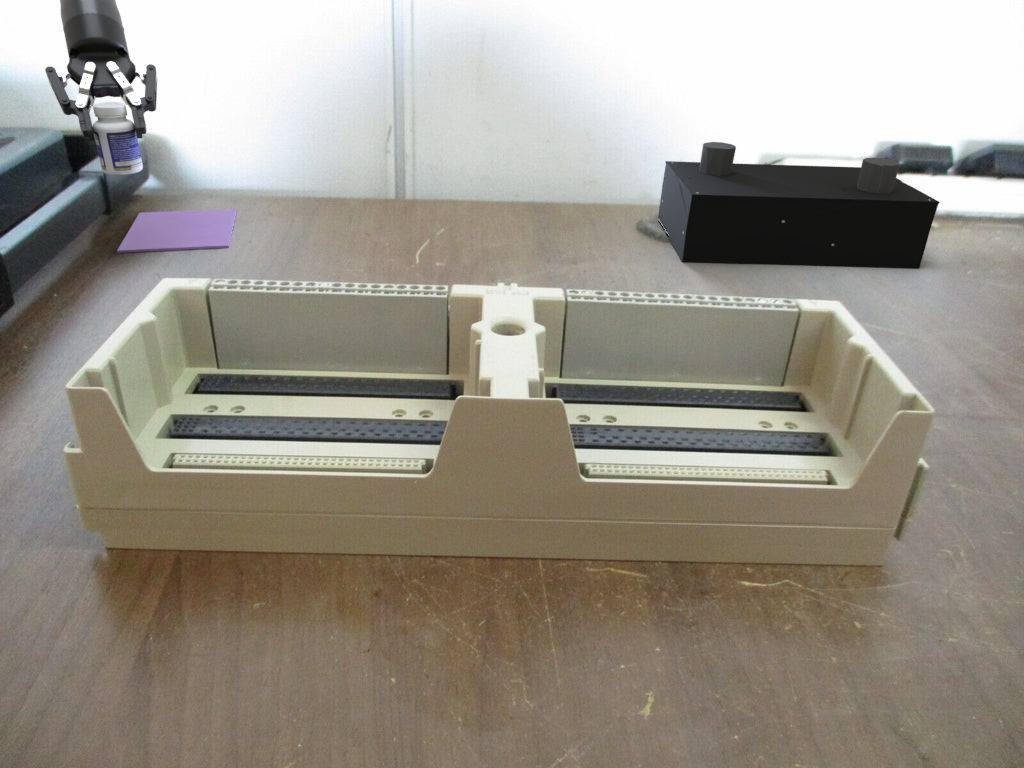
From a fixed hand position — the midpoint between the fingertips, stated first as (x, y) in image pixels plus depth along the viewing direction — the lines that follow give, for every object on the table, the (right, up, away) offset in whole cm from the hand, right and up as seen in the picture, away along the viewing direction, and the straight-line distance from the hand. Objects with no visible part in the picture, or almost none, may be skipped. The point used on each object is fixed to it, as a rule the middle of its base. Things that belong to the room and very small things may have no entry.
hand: (115, 135), depth 103 cm
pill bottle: (-1, -4, +4) cm, 6 cm away
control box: (+99, -9, +28) cm, 103 cm away
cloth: (-1, -8, +23) cm, 24 cm away
